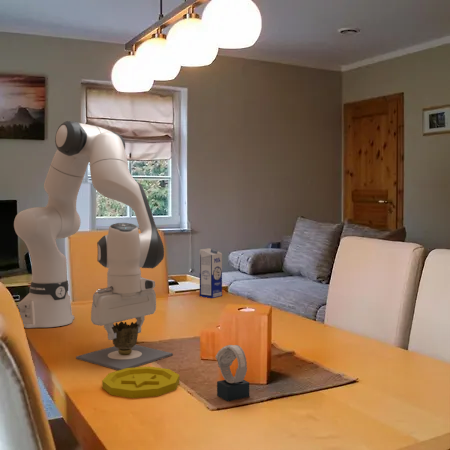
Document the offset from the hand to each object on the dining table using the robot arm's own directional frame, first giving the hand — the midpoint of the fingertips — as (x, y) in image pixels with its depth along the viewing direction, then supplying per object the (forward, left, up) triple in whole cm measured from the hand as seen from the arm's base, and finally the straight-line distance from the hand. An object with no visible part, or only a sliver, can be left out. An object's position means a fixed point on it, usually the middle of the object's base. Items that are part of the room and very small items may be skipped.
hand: (124, 336), depth 159 cm
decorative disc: (+20, -13, -6) cm, 25 cm away
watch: (+41, -6, -6) cm, 42 cm away
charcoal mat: (0, 0, -6) cm, 6 cm away
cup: (0, 0, -5) cm, 5 cm away
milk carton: (-40, +84, -6) cm, 93 cm away
